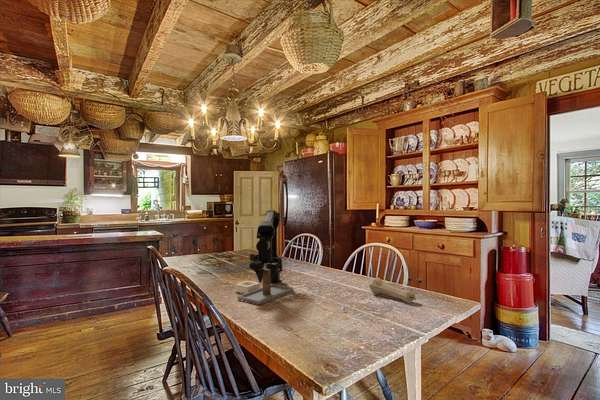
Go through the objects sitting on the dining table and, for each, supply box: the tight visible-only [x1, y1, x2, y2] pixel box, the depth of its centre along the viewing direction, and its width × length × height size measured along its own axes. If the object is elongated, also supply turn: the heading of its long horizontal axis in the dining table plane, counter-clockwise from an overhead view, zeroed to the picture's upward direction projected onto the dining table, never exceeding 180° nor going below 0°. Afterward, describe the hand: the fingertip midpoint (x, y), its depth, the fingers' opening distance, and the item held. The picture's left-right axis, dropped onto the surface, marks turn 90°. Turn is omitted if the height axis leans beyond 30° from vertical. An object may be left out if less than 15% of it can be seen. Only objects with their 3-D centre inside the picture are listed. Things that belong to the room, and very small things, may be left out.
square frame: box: [234, 280, 261, 294], centre depth 161 cm, size 9×9×4 cm
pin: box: [261, 268, 272, 295], centre depth 154 cm, size 4×4×12 cm
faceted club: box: [368, 277, 417, 304], centre depth 147 cm, size 9×8×25 cm
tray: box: [237, 283, 294, 306], centre depth 154 cm, size 26×14×2 cm, turn 145°
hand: (266, 280), depth 154 cm, fingers open, 9 cm apart
